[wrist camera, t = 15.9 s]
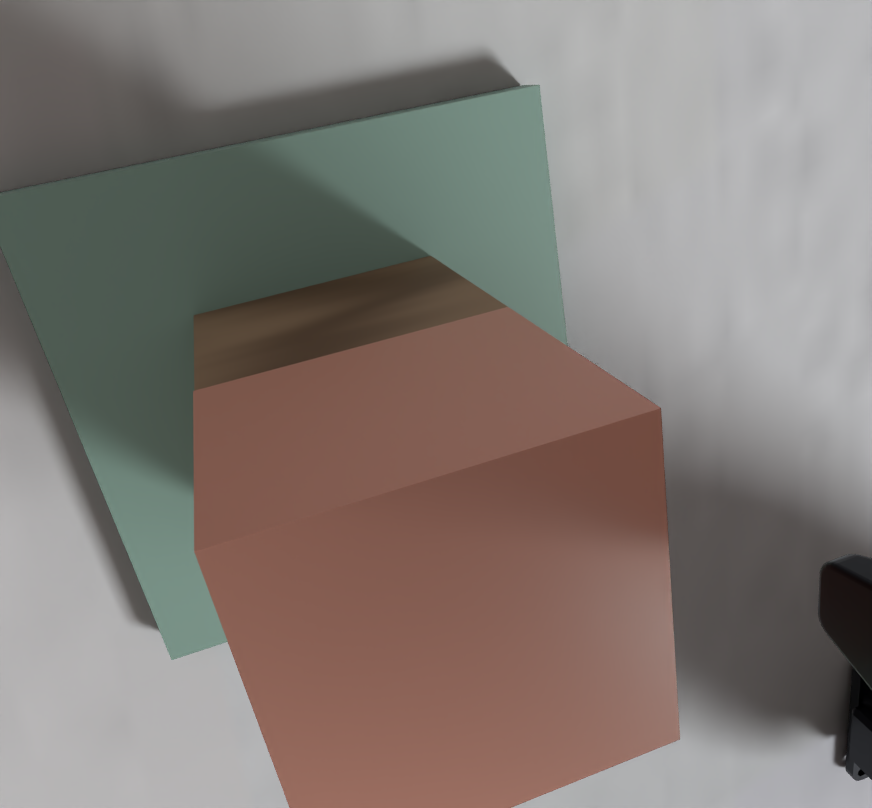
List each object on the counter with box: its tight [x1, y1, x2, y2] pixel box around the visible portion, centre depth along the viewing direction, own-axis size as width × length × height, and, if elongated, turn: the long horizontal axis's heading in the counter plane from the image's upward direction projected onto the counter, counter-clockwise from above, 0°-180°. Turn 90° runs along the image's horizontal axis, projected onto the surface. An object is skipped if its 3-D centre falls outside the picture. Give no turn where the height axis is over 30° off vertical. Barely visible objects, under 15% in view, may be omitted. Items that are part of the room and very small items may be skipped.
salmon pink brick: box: [193, 307, 680, 808], centre depth 12 cm, size 6×6×5 cm
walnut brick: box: [194, 256, 507, 391], centre depth 17 cm, size 6×6×5 cm
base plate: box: [0, 85, 567, 660], centre depth 19 cm, size 12×12×1 cm
